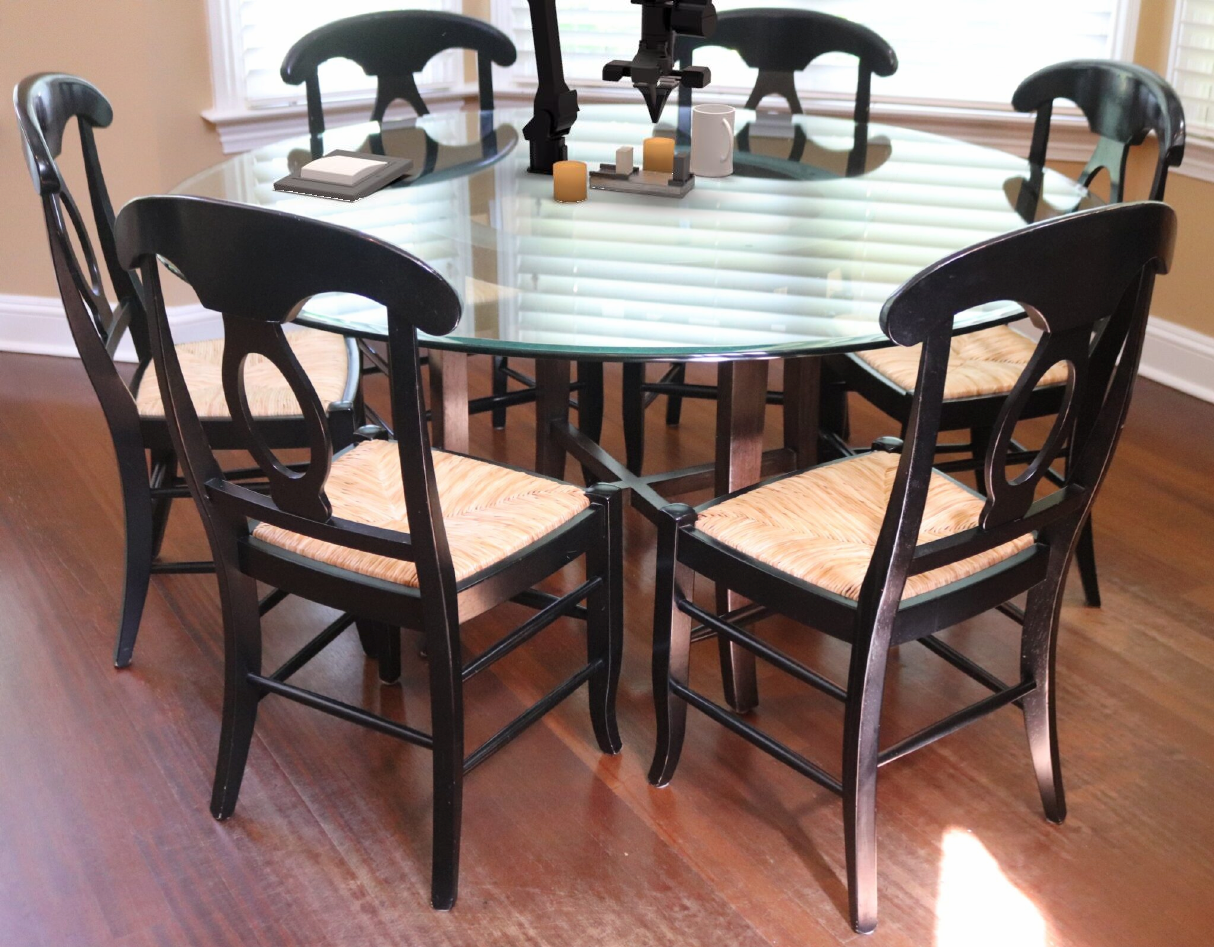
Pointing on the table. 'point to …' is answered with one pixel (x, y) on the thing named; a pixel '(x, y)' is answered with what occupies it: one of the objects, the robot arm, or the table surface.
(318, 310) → the table surface
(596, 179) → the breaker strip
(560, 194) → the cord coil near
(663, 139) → the orange short rounded piece
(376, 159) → the light switch
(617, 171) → the beige cardboard box
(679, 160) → the toggle black
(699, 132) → the mug
